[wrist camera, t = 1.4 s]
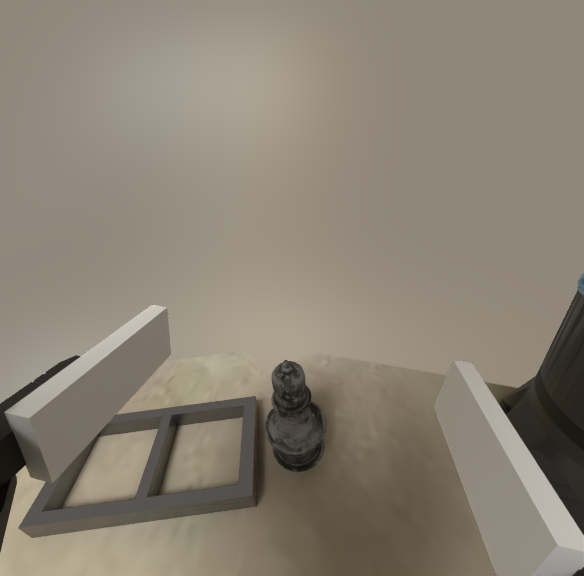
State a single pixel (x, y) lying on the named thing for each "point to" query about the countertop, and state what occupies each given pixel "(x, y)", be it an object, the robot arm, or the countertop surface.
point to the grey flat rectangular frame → (152, 475)
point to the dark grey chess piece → (294, 420)
